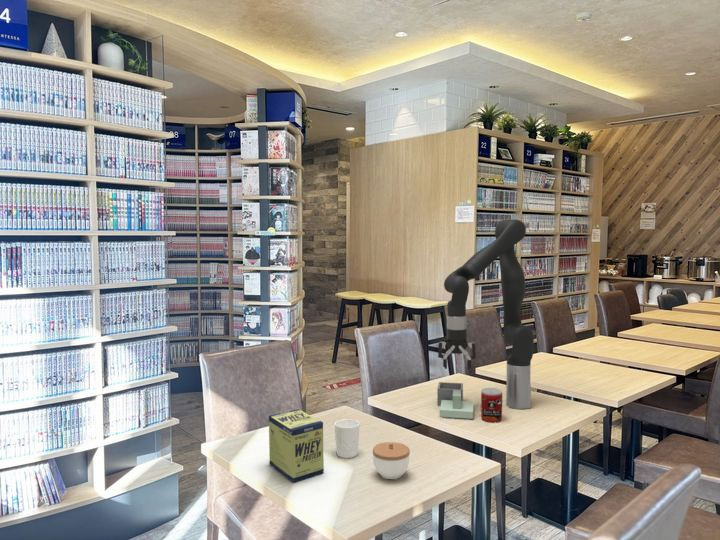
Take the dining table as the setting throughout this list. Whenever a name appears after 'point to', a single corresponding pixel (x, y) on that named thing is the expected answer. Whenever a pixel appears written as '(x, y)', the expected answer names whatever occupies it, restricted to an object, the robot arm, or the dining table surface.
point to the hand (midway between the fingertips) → (457, 368)
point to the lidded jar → (391, 459)
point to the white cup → (347, 438)
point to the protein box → (296, 445)
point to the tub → (448, 391)
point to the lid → (456, 407)
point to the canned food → (491, 405)
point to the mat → (457, 418)
